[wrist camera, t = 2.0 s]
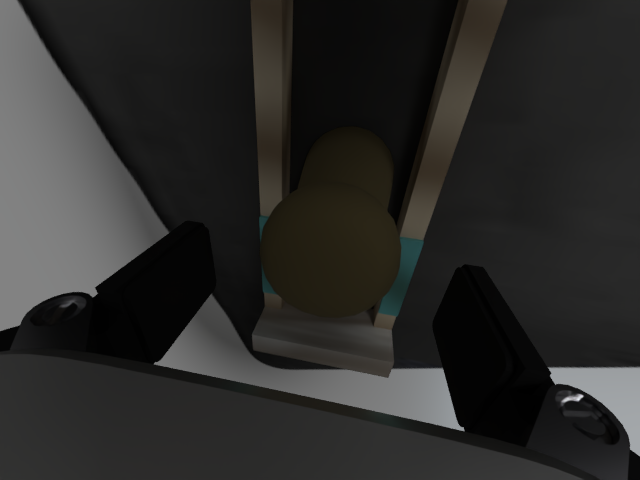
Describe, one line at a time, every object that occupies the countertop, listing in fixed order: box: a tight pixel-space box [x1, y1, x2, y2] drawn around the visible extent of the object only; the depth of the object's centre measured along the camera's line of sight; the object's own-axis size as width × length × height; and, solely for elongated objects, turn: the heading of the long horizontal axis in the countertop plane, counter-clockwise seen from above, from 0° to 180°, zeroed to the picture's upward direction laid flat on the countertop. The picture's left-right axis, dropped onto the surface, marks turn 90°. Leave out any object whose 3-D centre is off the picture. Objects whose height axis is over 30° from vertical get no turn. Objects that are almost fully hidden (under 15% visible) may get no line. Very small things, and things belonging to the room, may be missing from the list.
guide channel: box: [250, 0, 507, 378], centre depth 15 cm, size 30×11×5 cm, turn 175°
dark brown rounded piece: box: [259, 126, 402, 318], centre depth 13 cm, size 6×6×11 cm
